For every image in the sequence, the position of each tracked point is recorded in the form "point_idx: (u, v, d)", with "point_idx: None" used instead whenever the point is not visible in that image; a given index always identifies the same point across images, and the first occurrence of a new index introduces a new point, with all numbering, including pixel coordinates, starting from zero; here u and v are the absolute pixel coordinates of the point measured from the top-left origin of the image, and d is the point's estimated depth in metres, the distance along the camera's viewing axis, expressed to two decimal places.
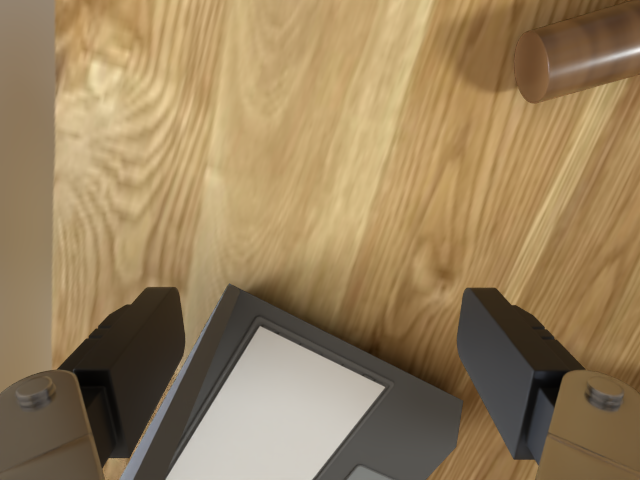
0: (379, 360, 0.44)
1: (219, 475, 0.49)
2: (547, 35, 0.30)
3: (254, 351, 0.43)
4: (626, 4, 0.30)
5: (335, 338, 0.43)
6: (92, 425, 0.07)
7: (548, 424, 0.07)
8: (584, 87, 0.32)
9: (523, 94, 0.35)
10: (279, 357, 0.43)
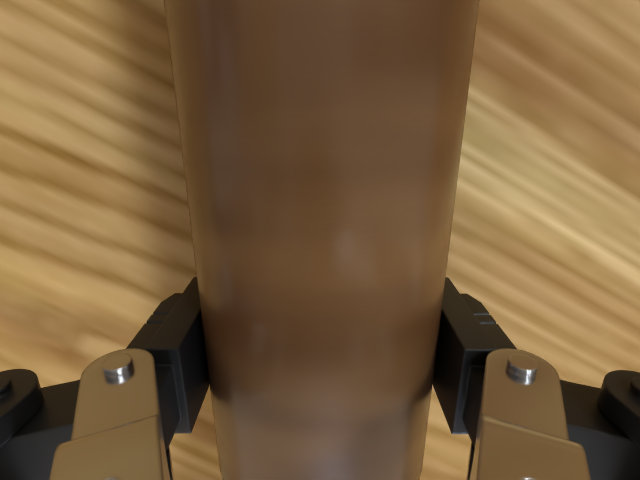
0: None
1: None
2: None
3: None
4: (189, 212, 0.08)
5: None
6: (165, 399, 0.08)
7: (476, 398, 0.08)
8: (431, 370, 0.09)
9: None
10: None
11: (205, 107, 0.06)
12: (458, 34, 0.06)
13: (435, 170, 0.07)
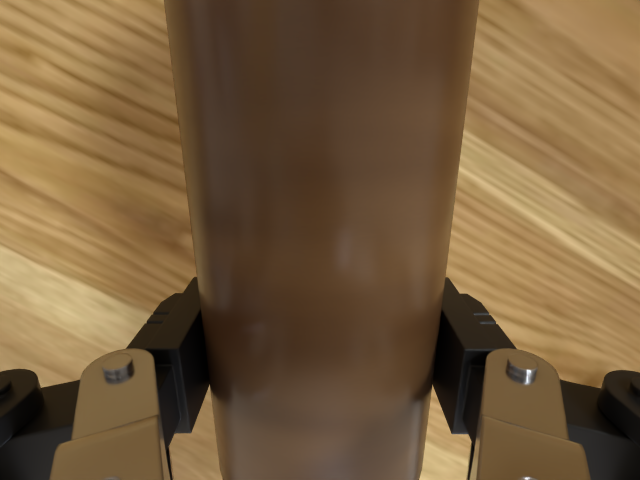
0: None
1: None
2: None
3: None
4: (189, 212, 0.08)
5: None
6: (165, 399, 0.08)
7: (476, 398, 0.08)
8: (431, 369, 0.09)
9: None
10: None
11: (205, 106, 0.06)
12: (458, 33, 0.06)
13: (435, 170, 0.07)
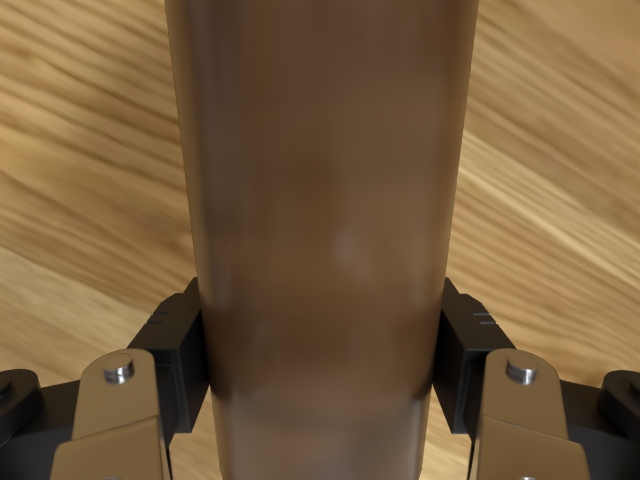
0: None
1: None
2: None
3: None
4: None
5: None
6: (165, 399, 0.08)
7: (476, 398, 0.08)
8: (431, 369, 0.09)
9: None
10: None
11: (204, 107, 0.06)
12: (457, 33, 0.06)
13: (435, 170, 0.07)
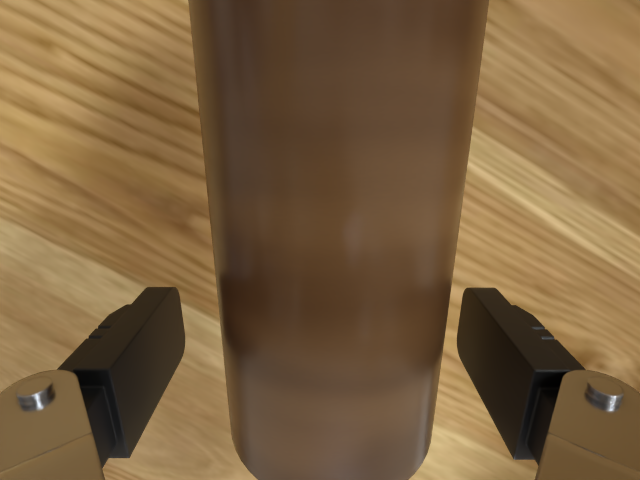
0: None
1: None
2: (243, 450, 0.10)
3: None
4: (206, 180, 0.08)
5: None
6: (92, 425, 0.07)
7: (548, 424, 0.07)
8: (442, 339, 0.09)
9: None
10: None
11: (225, 68, 0.06)
12: None
13: (448, 133, 0.07)
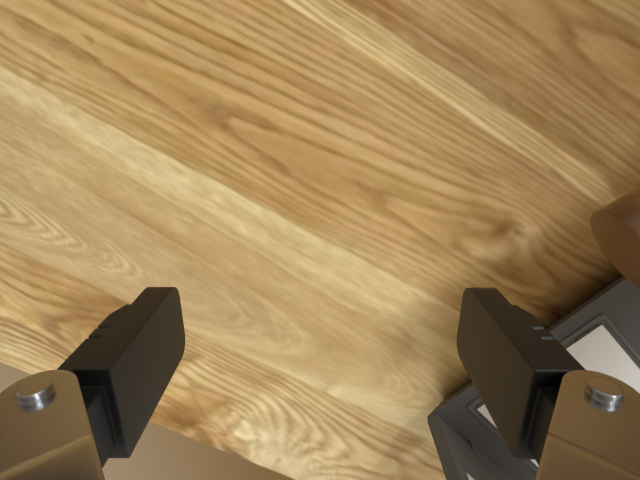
0: (567, 321, 0.41)
1: None
2: None
3: None
4: None
5: None
6: (92, 425, 0.07)
7: (548, 424, 0.07)
8: None
9: (616, 267, 0.26)
10: None
11: None
12: None
13: None
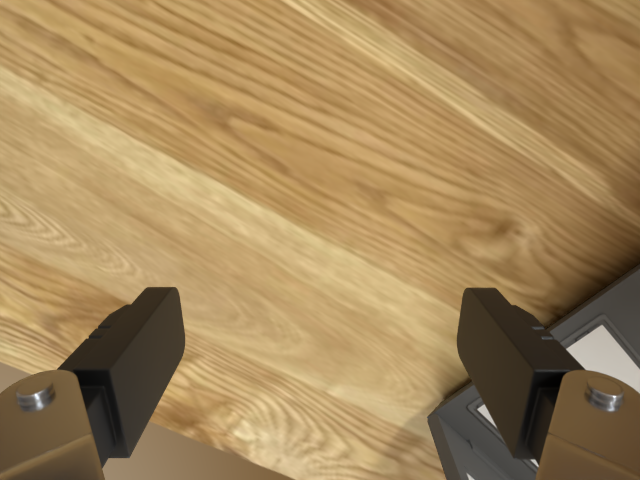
0: (567, 321, 0.41)
1: None
2: None
3: None
4: None
5: None
6: (92, 425, 0.07)
7: (548, 424, 0.07)
8: None
9: None
10: None
11: None
12: None
13: None
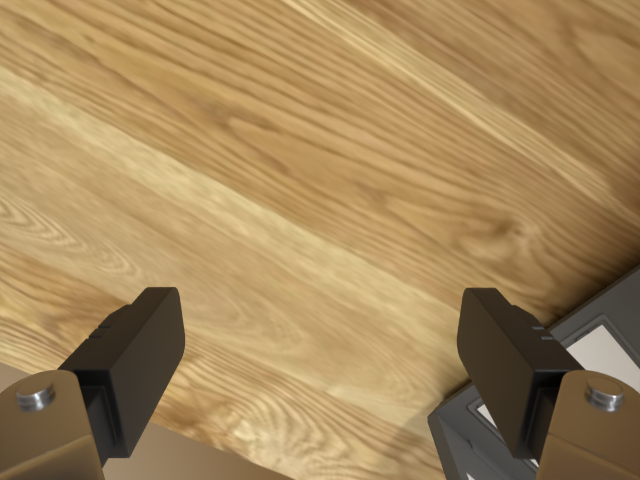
0: (567, 321, 0.41)
1: None
2: None
3: None
4: None
5: None
6: (92, 425, 0.07)
7: (548, 424, 0.07)
8: None
9: None
10: None
11: None
12: None
13: None
